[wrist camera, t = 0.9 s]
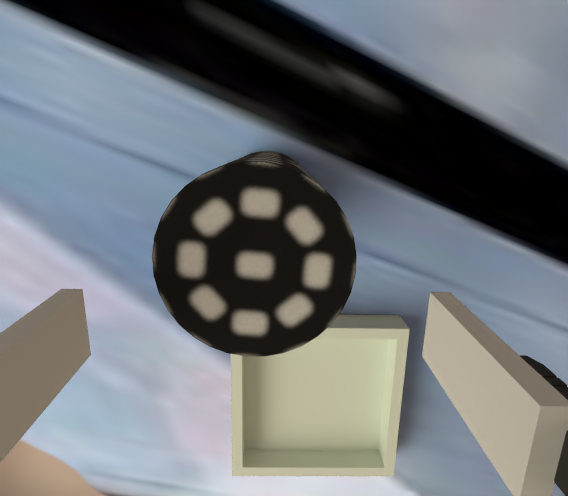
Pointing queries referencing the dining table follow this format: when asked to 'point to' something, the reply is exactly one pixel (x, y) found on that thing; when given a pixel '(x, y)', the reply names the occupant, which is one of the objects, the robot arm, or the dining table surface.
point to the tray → (322, 402)
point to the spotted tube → (254, 256)
